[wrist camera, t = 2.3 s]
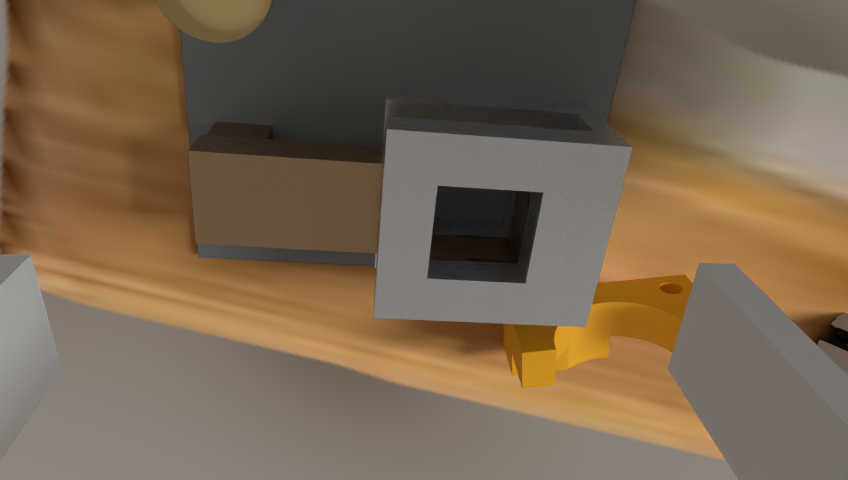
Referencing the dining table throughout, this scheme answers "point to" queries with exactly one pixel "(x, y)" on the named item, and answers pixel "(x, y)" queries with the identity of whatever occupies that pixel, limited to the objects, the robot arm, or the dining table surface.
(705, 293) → the robot arm
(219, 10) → the brass pin
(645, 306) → the pipe clamp
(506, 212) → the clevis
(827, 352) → the grey rounded block
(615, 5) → the mat
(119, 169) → the dining table surface
